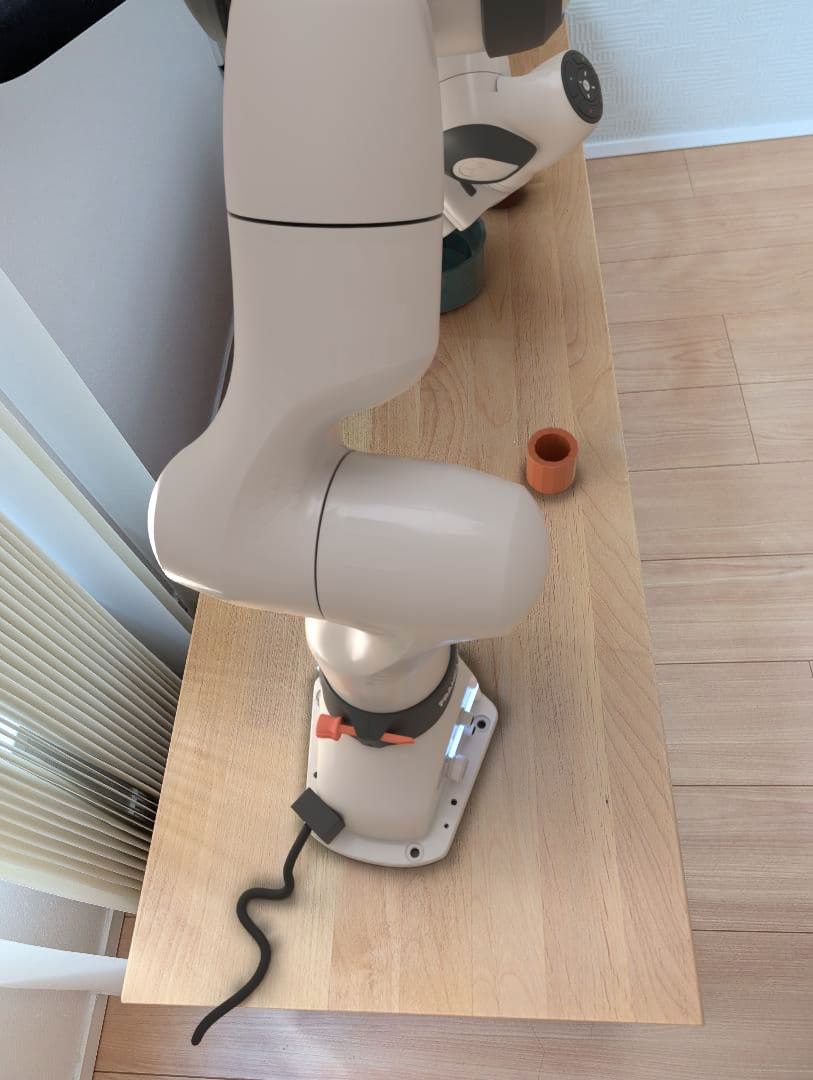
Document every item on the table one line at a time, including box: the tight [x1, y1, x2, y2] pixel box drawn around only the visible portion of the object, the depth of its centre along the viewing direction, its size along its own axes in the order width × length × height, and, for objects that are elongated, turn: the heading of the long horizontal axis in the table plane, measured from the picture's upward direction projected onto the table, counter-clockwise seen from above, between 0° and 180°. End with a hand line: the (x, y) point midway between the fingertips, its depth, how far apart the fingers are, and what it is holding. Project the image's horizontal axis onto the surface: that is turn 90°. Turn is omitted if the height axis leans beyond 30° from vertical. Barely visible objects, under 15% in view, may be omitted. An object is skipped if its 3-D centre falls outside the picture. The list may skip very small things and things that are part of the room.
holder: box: [525, 426, 579, 495], centre depth 87 cm, size 5×6×6 cm
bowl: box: [440, 216, 489, 314], centre depth 105 cm, size 15×15×7 cm
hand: (424, 209), depth 101 cm, fingers closed
